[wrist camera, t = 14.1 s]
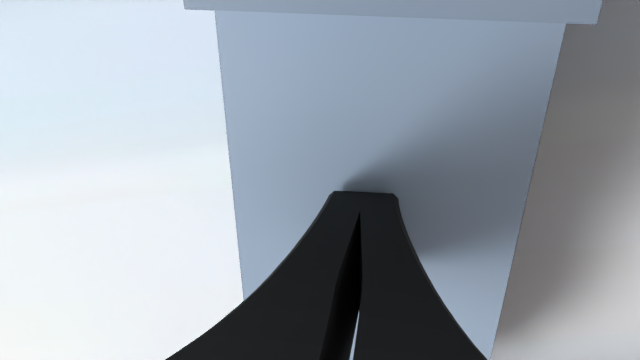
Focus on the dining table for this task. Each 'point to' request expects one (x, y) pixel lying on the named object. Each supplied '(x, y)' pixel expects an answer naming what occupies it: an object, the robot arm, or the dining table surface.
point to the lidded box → (392, 126)
